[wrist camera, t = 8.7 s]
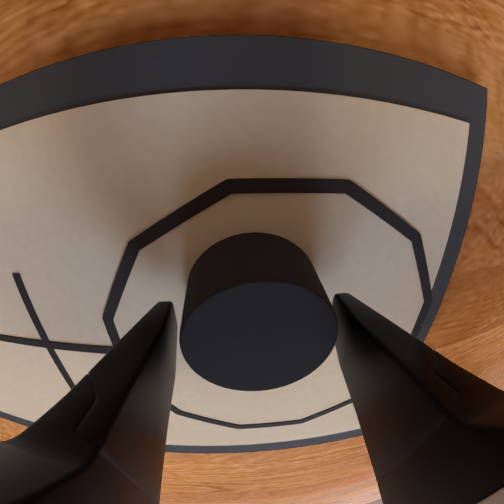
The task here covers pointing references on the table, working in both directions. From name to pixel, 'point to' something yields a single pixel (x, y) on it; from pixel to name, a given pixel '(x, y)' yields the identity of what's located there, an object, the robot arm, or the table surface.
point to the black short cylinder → (255, 314)
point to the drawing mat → (223, 208)
